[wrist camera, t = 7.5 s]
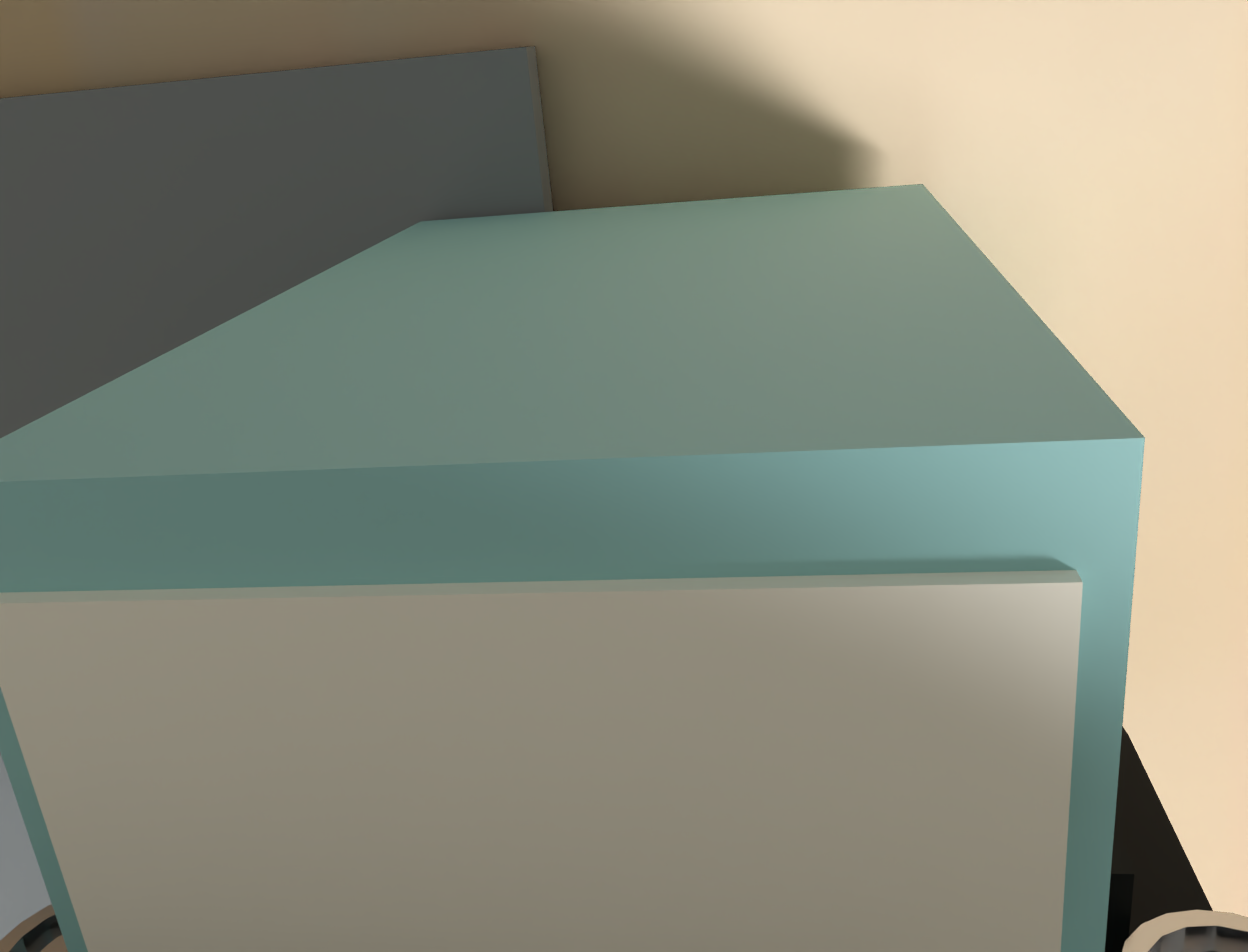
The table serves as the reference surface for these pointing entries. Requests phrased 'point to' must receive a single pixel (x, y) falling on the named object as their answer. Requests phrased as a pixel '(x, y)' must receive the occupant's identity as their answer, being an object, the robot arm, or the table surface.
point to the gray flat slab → (225, 223)
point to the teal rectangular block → (584, 601)
